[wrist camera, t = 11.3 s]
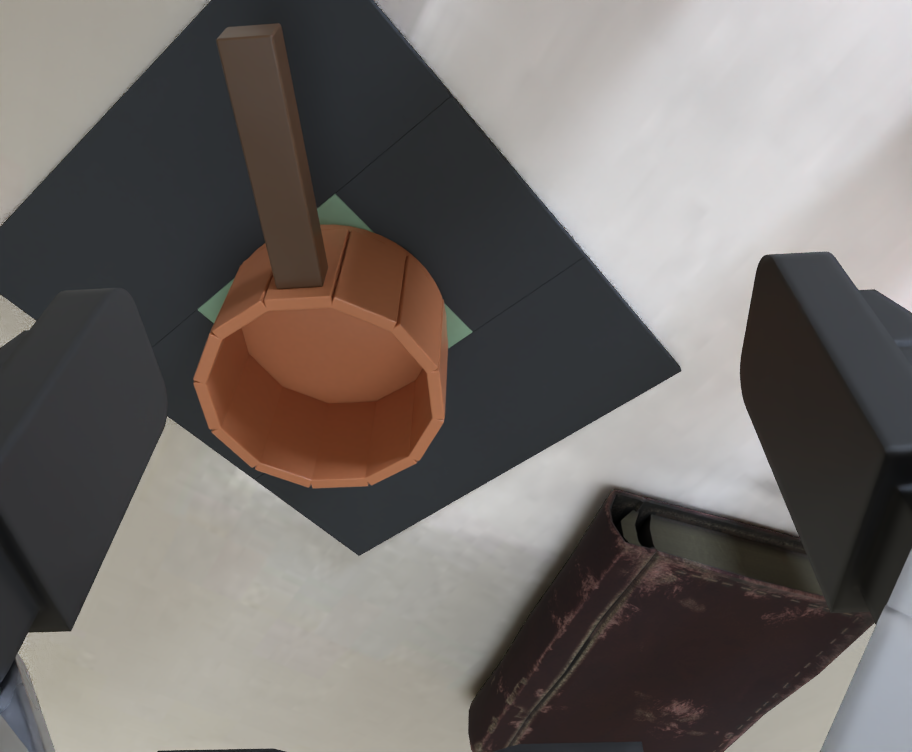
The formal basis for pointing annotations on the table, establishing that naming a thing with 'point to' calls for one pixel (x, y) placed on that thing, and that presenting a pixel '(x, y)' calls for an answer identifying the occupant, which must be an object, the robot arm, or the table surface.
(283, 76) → the saucepan
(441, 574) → the table surface
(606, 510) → the diary
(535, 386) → the placemat
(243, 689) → the table surface
